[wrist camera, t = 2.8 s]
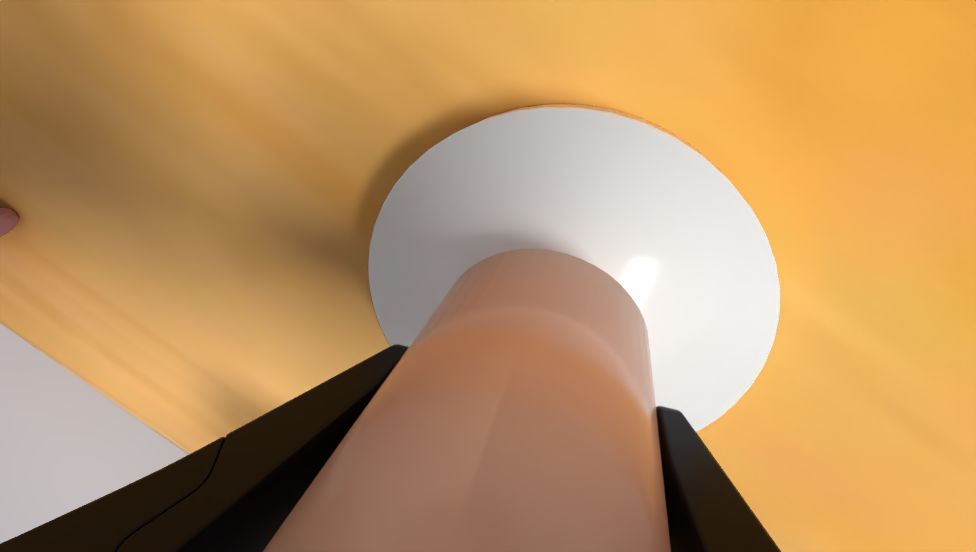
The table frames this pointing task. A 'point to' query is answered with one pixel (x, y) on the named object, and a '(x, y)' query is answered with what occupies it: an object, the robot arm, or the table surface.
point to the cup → (503, 427)
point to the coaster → (591, 238)
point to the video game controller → (7, 220)
